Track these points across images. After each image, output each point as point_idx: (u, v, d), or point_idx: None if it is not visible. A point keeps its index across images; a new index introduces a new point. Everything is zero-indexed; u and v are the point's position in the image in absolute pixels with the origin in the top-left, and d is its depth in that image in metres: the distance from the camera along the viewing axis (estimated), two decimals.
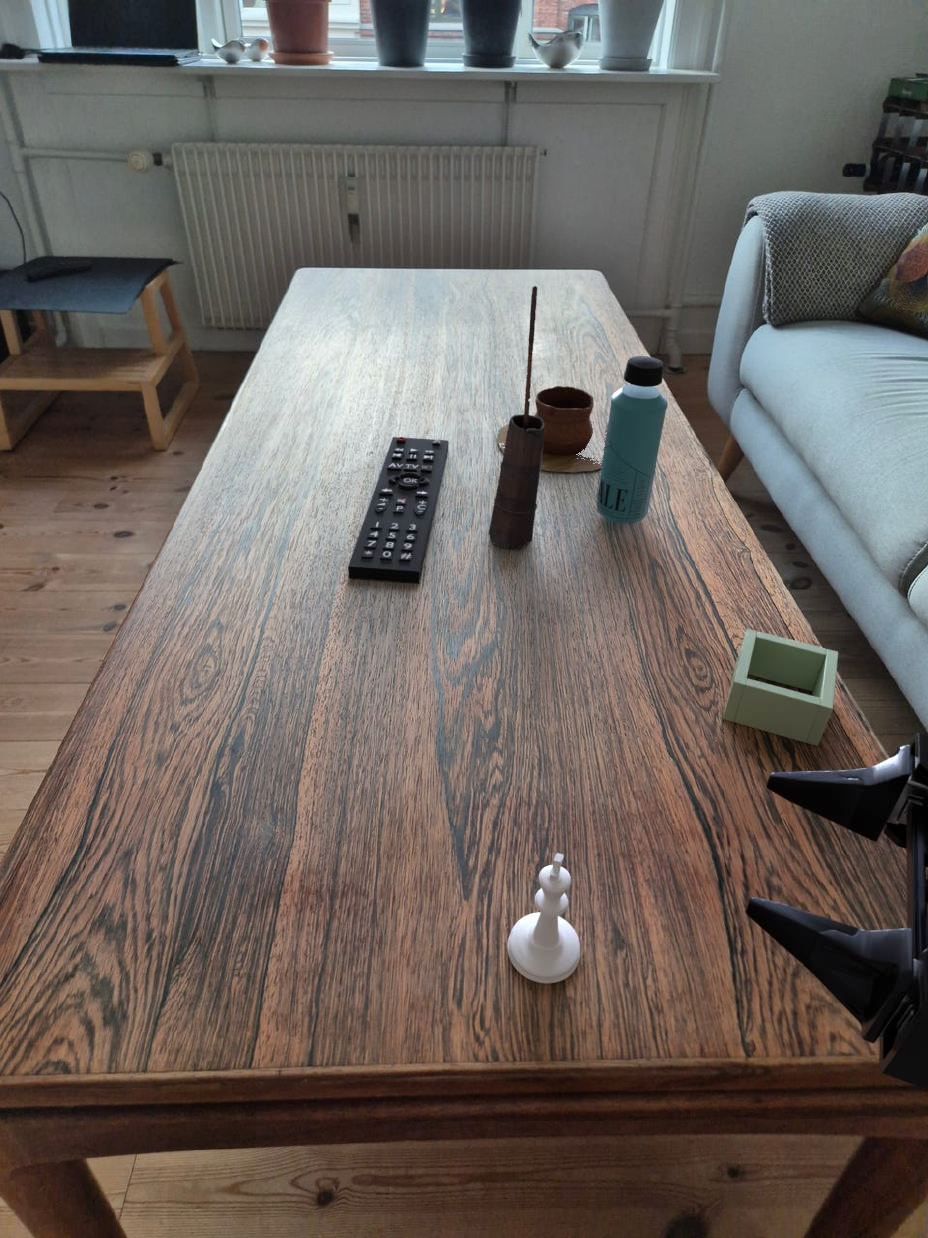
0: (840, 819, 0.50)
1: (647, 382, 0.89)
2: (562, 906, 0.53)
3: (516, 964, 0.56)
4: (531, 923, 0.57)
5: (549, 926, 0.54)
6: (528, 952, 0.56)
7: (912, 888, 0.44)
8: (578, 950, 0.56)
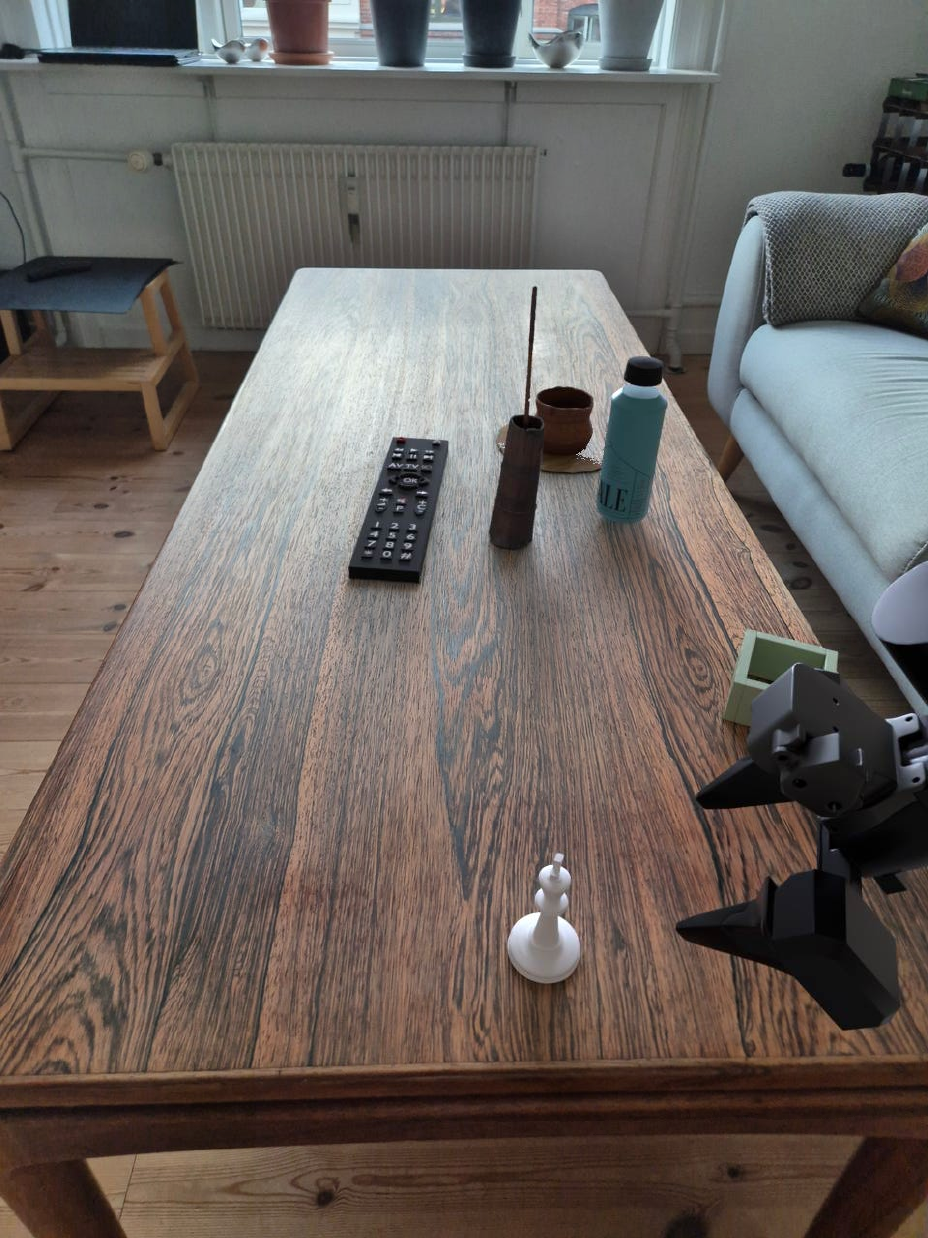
0: (783, 796, 0.49)
1: (647, 382, 0.89)
2: (562, 906, 0.53)
3: (516, 964, 0.56)
4: (531, 923, 0.57)
5: (549, 926, 0.54)
6: (528, 952, 0.56)
7: (818, 830, 0.42)
8: (578, 950, 0.56)
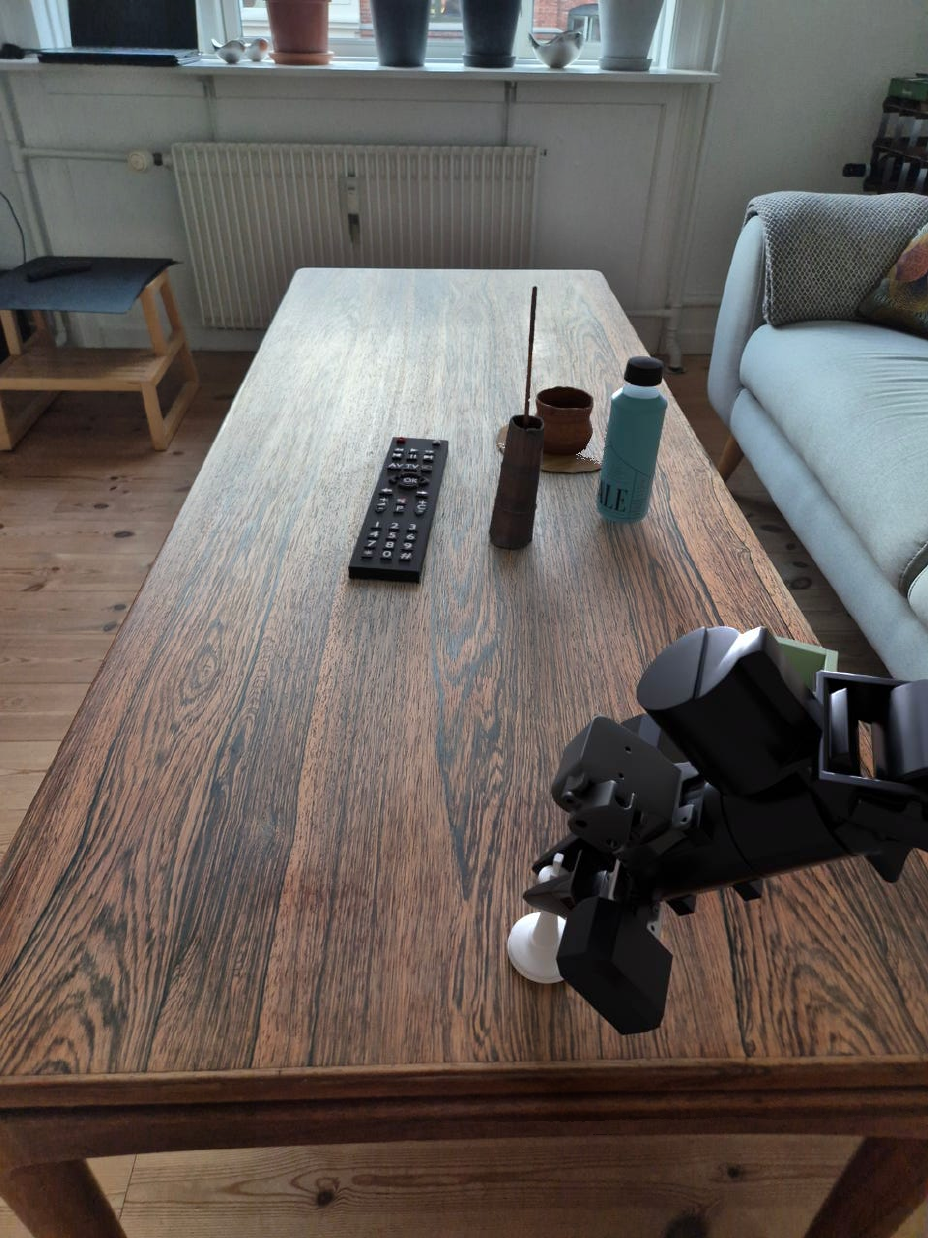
0: (608, 869, 0.52)
1: (647, 382, 0.89)
2: None
3: (516, 964, 0.56)
4: (531, 923, 0.57)
5: (549, 926, 0.54)
6: (528, 952, 0.56)
7: None
8: None
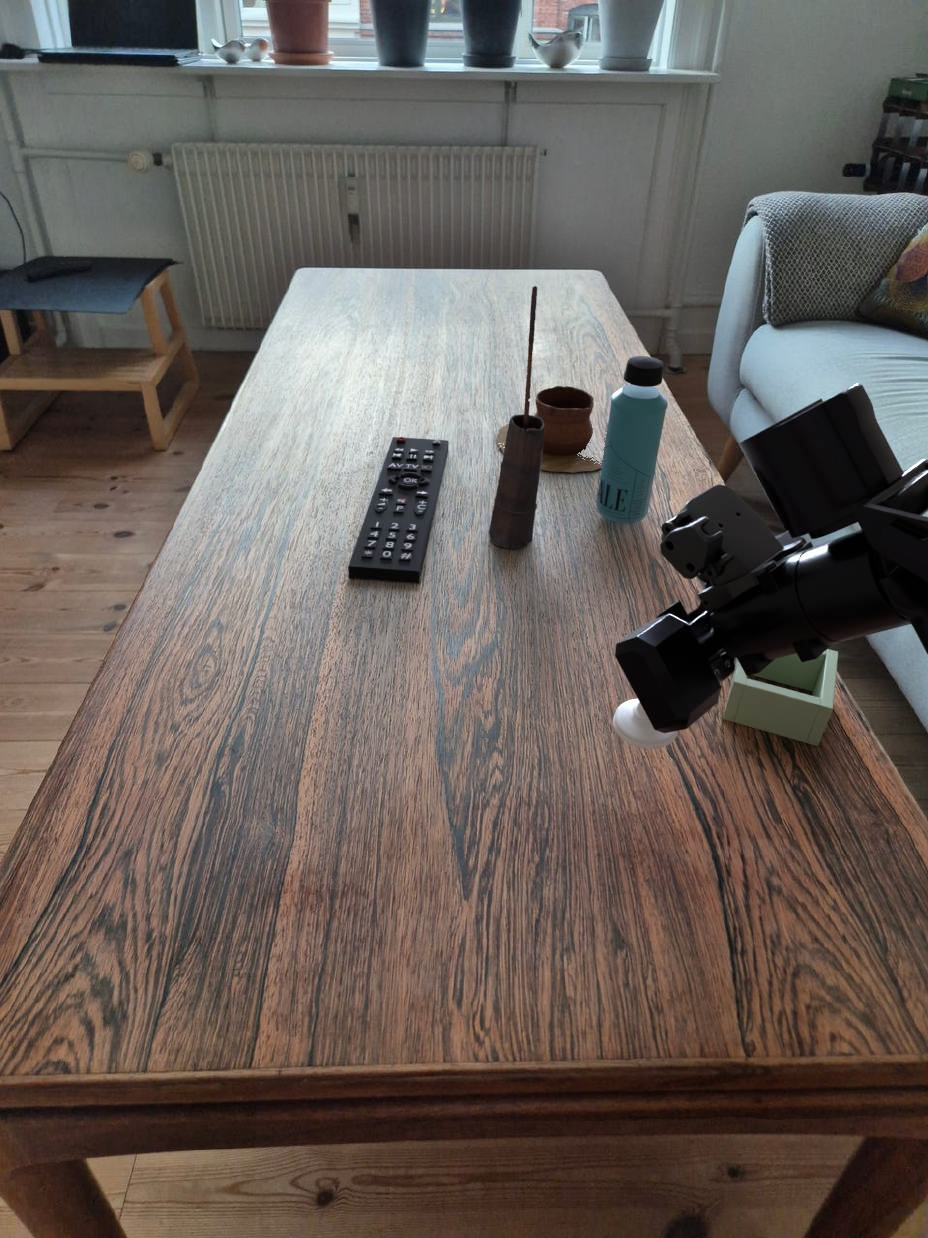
0: None
1: (647, 382, 0.89)
2: None
3: (615, 725, 0.64)
4: None
5: None
6: (628, 717, 0.64)
7: None
8: (673, 732, 0.63)
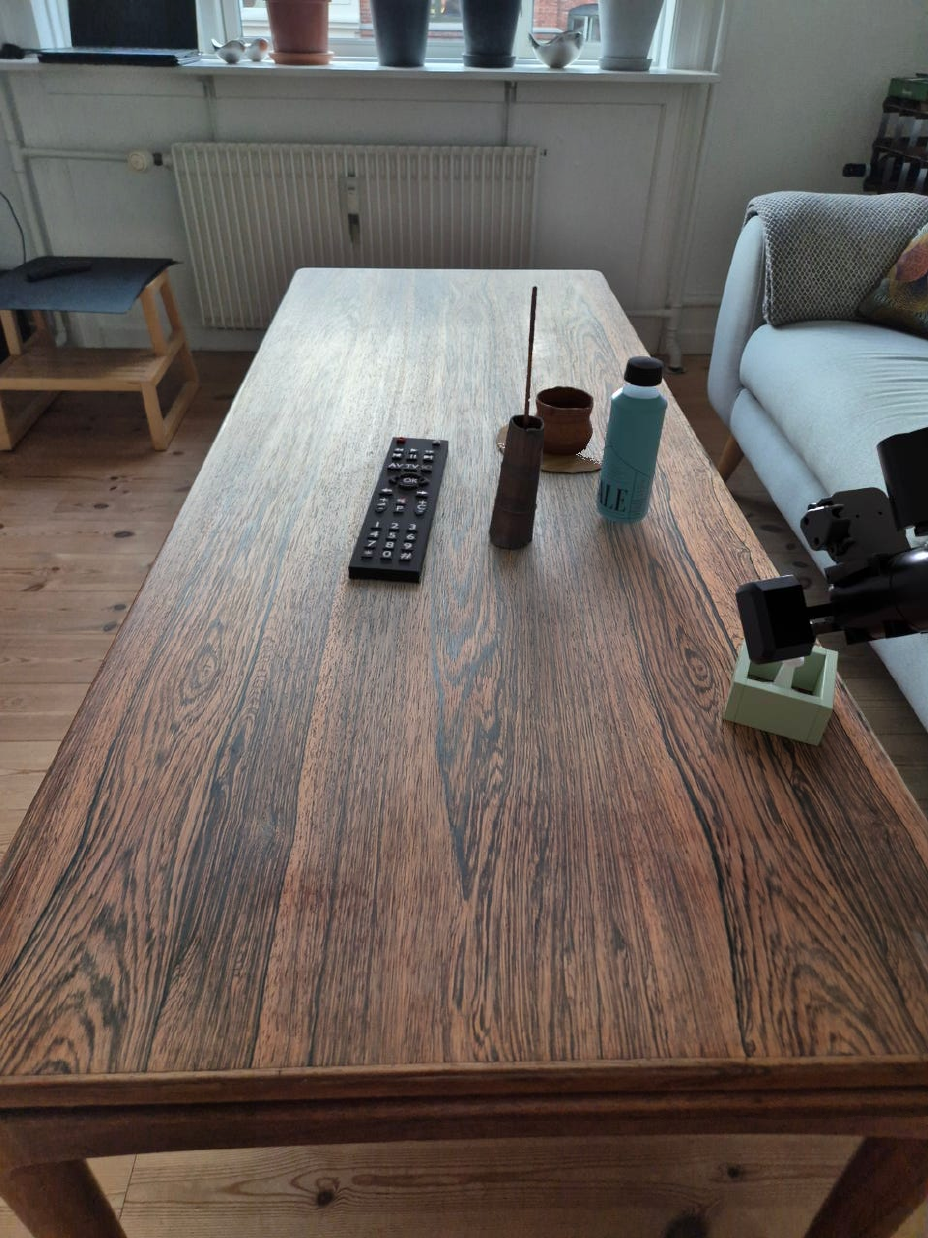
0: None
1: (647, 382, 0.89)
2: (795, 662, 0.73)
3: None
4: None
5: (781, 677, 0.74)
6: None
7: None
8: None
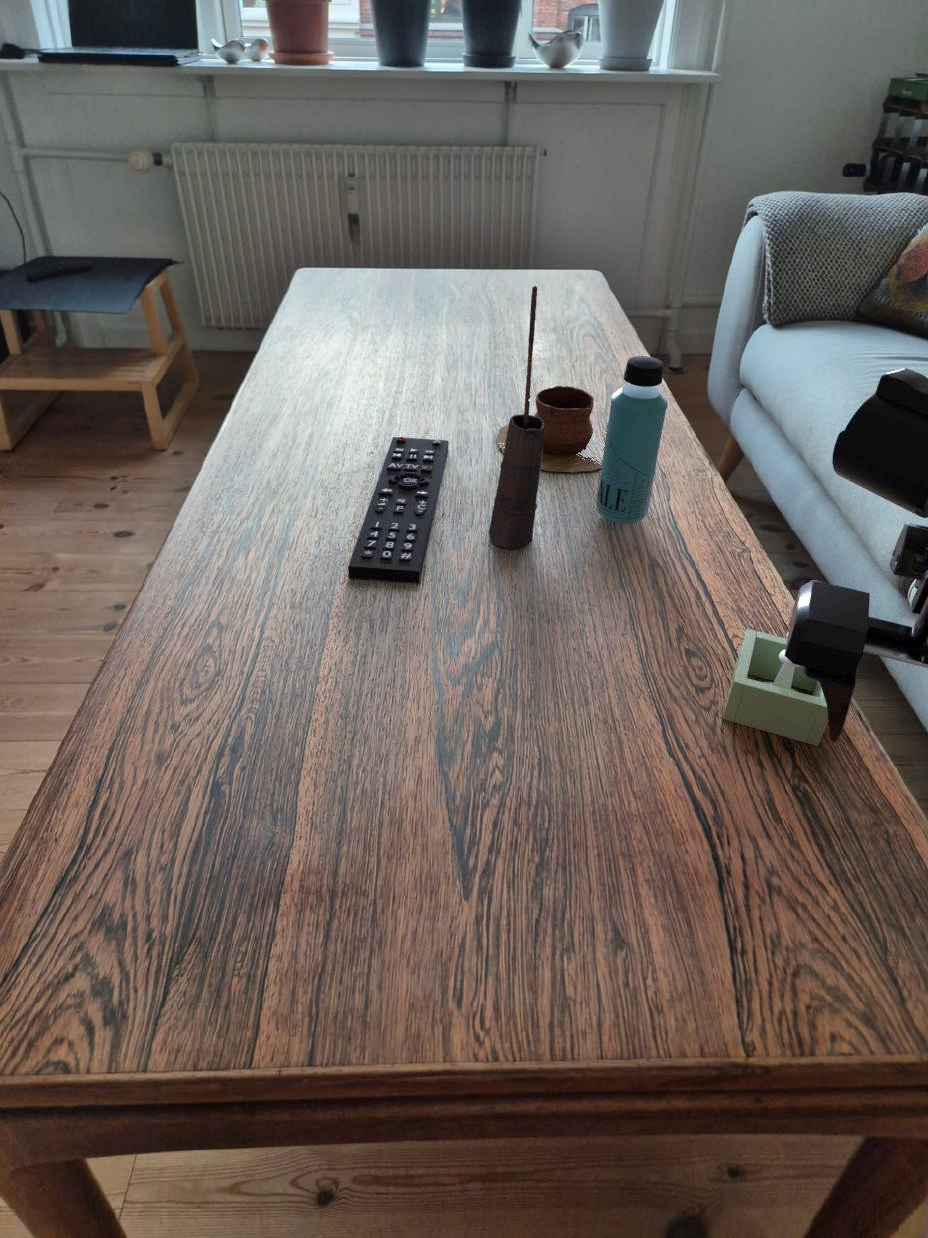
0: None
1: (647, 382, 0.89)
2: None
3: None
4: None
5: (781, 677, 0.74)
6: None
7: None
8: None
